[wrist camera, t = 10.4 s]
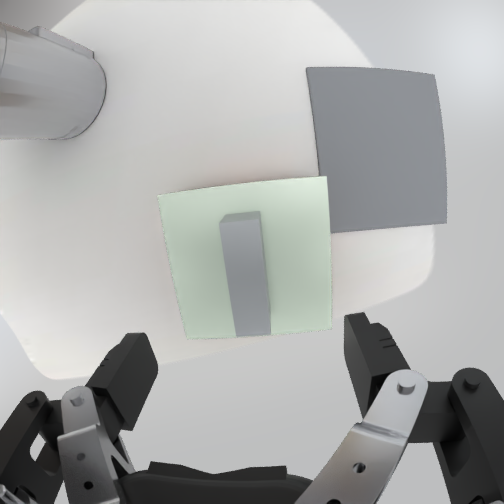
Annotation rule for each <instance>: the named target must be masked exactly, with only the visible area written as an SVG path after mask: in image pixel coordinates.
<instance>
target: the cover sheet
mask: <svg viewBox="0 0 504 504" xmlns="http://www.w3.org/2000/svg"><path fill="white" fill-rule="evenodd" d="M158 203H159V209H160V215H161V221H162V227H163V232H164V238H165V243H166V248H167V253H168V258H169V263H170V268H171V273H172V278H173V283H174V287H175V292H176V296H177V300H178V305H179V309H180V313H181V317H182V321H183V325H184V329H185V333H186V337H187V339H217V338H238V337H254V336H268V335H281V334H292V333H303V332H312V331H321V330H330V329H332V265H331V237H330V217H329V201H328V187H327V176H313V177H300V178H288V179H277V180H266V181H257V182H247V183H239V184H230V185H222V186H214V187H207V188H199V189H192V190H186V191H179V192H172V193H166V194H160V195H158Z"/></svg>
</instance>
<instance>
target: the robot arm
mask: <svg viewBox="0 0 504 504" xmlns="http://www.w3.org/2000/svg"><path fill="white" fill-rule="evenodd" d="M105 89H106V81H105V75H104V72H103V70H102V68H101V66H100V65H99V64H98V63H97V62H96V61H95V60H94V58H93V51H91V50H89V49H87V48H85V47H83V46H81V45H79V44H77V43H75V42H73V41H71V40H69V39H67V38H65V37H63V36H60V35H58V34H56V33H54V32H52V31H49V30H47V29H45V28H42V27H40V26H37V27H34V28H32V29H31V30H29V31H25V30H22V29H20V28H17V27H14V26H11V25H8V24H5V23H2V22H0V140H10V139H68V138H73V137H75V136H77V135H79V134H80V133H82V132H83V131H84V130H85V129H87V127H88V126H89V125H90V124H91V123H92V122H93V120H94V119H95V117H96V116H97V114H98V112H99V110H100V108H101V106H102V103H103V100H104V96H105ZM344 355H345V361H346V364H347V368H348V371H349V374H350V378H351V381H352V384H353V387H354V391H355V394H356V397H357V401H358V404H359V407H360V411H361V414H362V418H363V421H362V422H361V423H356V424H355V425H354V426H353V427H352V428H351V430H350V431H349V433H348V434H347V436H346V437H345V439H344V440H343V442H342V443H341V445H340V446H339V447H338V449H337V450H336V452H335V453H334V454H333V456H332V457H331V459H330V460H329V461H328V463H327V464H326V465H325V467H324V468H323V469H322V470H321V472H320V473H319V474H318V476H317V477H316V478H315V479H314V481H313V480H310V479H307V478H304V477H300V476H296V475H289V474H287V468H286V466H272V467H250V468H245V469H240V470H235V471H231V472H225V473H219V474H210V473H206V472H203V471H199V470H196V469H192V468H189V467H186V466H183V465H177V464H167V463H160V462H152V461H151V462H150V465H149V468H148V470H143V471H138V472H136V471H135V469H134V467H133V465H132V462H131V460H130V458H129V455H128V453H127V450H126V448H125V445H124V443H123V440H122V438H121V436H120V435H119V432H120V430H121V429H122V430H129V431H132V430H133V428H134V426H135V423H136V421H137V419H138V417H139V414H140V412H141V410H142V408H143V405H144V403H145V401H146V399H147V396H148V394H149V392H150V390H151V388H152V385H153V383H154V381H155V379H156V377H157V374H158V364H157V360H156V358H155V355H154V353H153V350H152V348H151V345H150V342H149V340H148V337H147V335H146V334H145V333H127V334H126V335H125V337H124V338H123V339H122V341H121V342H120V344H118V345H116V346H115V347H114V348H113V349H111V350H110V351H109V352H108V354H107V355H106V356H105V358H104V360H103V361H102V362H101V363H100V367H99V366H98V368H97V369H96V371H95V372H94V374H93V375H92V376H91V378H90V379H89V381H88V383H87V384H86V385H85V386H78V387H74V388H72V389H70V390H69V391H67V392H66V393H65V394H64V396H63V397H62V399H61V400H53V401H49V400H48V398H47V396H46V395H45V393H44V392H42V391H33V392H31V393H29V394H27V395H26V396H25V397H24V398H23V399H22V400H21V401H20V403H19V404H18V406H17V407H16V408H15V410H14V411H13V413H12V414H11V416H10V417H9V418H8V420H7V421H6V423H5V424H4V426H3V427H2V429H1V430H0V504H54V502H55V499H56V497H57V494H58V492H59V490H60V487H61V485H62V483H63V480H64V483H65V487H66V492H67V497H68V500H69V504H377V502H378V500H379V499H380V497H381V495H382V493H383V491H384V490H385V488H386V486H387V484H388V482H389V481H390V478H391V477H392V475H393V473H394V471H395V469H396V467H397V465H398V463H399V461H400V459H401V457H402V455H403V453H404V451H405V449H406V446H407V444H408V443H429V442H433V445H434V448H435V451H436V454H437V457H438V460H439V464H440V466H441V470H442V473H443V476H444V480H445V483H446V487H447V490H448V494H449V497H450V501H451V504H504V400H503V399H502V397H501V395H500V394H499V392H498V391H497V389H496V387H495V386H494V384H493V383H492V381H491V380H490V378H489V377H488V376H487V374H486V373H484V372H483V371H481V370H479V369H476V368H465V369H461V370H459V371H458V372H457V373H456V374H455V375H454V377H453V379H452V381H449V382H430V381H427V379H426V378H425V377H424V376H423V375H422V374H421V373H419V372H417V371H414V370H411V369H410V367H409V365H408V364H407V362H406V360H405V358H404V357H403V355H402V353H401V351H400V349H399V348H398V346H396V342H395V341H394V339H392V336H391V334H390V332H389V331H388V329H387V328H386V327H384V326H382V325H381V324H380V323H373V324H370V322H369V320H368V318H367V317H366V315H365V313H364V312H361V313H355V314H349V315H345V317H344ZM38 433H39V434H40V435H41V436H42V438H43V439H44V440H45V441H46V443H45V445H44V446H43V448H42V450H41V452H40V454H39V456H38V458H37V459H36V461H34V460H33V459H32V457H31V455H30V447H31V445H32V443H33V442H34V440H35V438H36V436H37V435H38Z"/></svg>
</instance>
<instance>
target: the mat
mask: <svg viewBox="0 0 504 504" xmlns="http://www.w3.org/2000/svg"><path fill="white" fill-rule="evenodd" d="M306 72H307V78H308V85H309V92H310V98H311V105H312V113H313V121H314V128H315V137H316V146H317V155H318V165H319V175H320V176H327V187H328V201H329V217H330V233H340V232H351V231H362V230H373V229H385V228H396V227H408V226H420V225H432V224H444V223H447V177H446V157H445V144H444V134H443V126H442V117H441V109H440V103H439V97H438V91H437V86H436V80H435V75H433V74H427V73H420V72H411V71H402V70H393V69H380V68H362V67H307V68H306Z"/></svg>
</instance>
